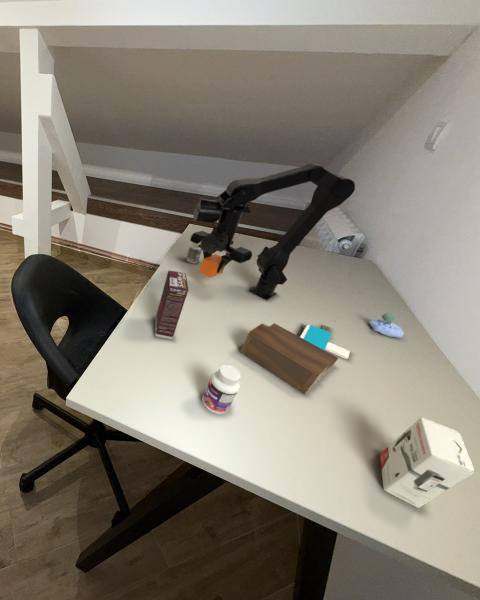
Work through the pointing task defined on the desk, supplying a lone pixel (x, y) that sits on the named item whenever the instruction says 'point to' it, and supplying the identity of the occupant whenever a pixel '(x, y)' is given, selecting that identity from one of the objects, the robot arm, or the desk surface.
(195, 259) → the pill bottle
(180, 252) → the desk surface
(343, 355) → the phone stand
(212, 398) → the pill bottle
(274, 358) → the step shelf
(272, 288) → the robot arm
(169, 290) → the supplement box
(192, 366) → the desk surface
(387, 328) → the figurine
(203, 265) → the orange block
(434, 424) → the ink box
